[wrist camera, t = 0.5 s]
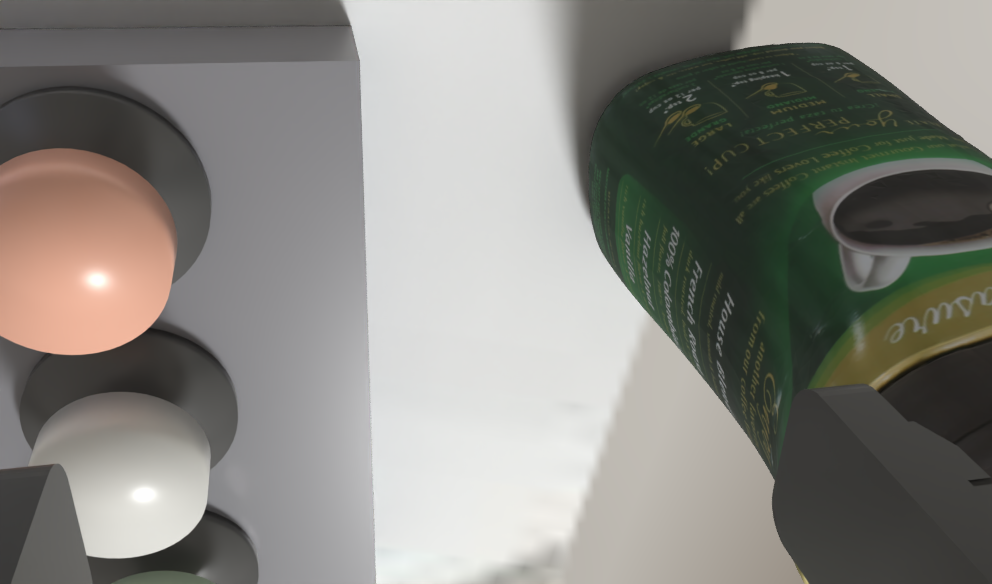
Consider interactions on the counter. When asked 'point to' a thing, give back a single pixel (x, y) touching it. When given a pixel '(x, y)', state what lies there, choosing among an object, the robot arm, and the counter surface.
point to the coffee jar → (803, 236)
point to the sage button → (164, 578)
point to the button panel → (224, 279)
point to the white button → (129, 470)
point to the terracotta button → (81, 252)
